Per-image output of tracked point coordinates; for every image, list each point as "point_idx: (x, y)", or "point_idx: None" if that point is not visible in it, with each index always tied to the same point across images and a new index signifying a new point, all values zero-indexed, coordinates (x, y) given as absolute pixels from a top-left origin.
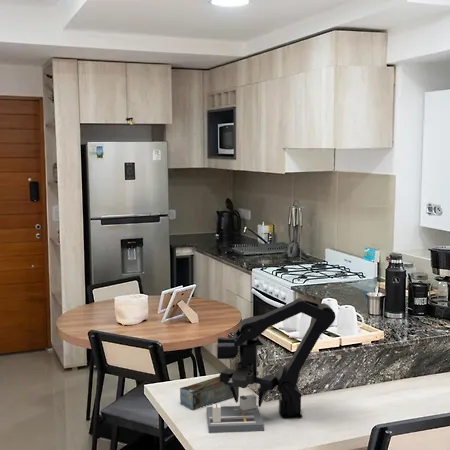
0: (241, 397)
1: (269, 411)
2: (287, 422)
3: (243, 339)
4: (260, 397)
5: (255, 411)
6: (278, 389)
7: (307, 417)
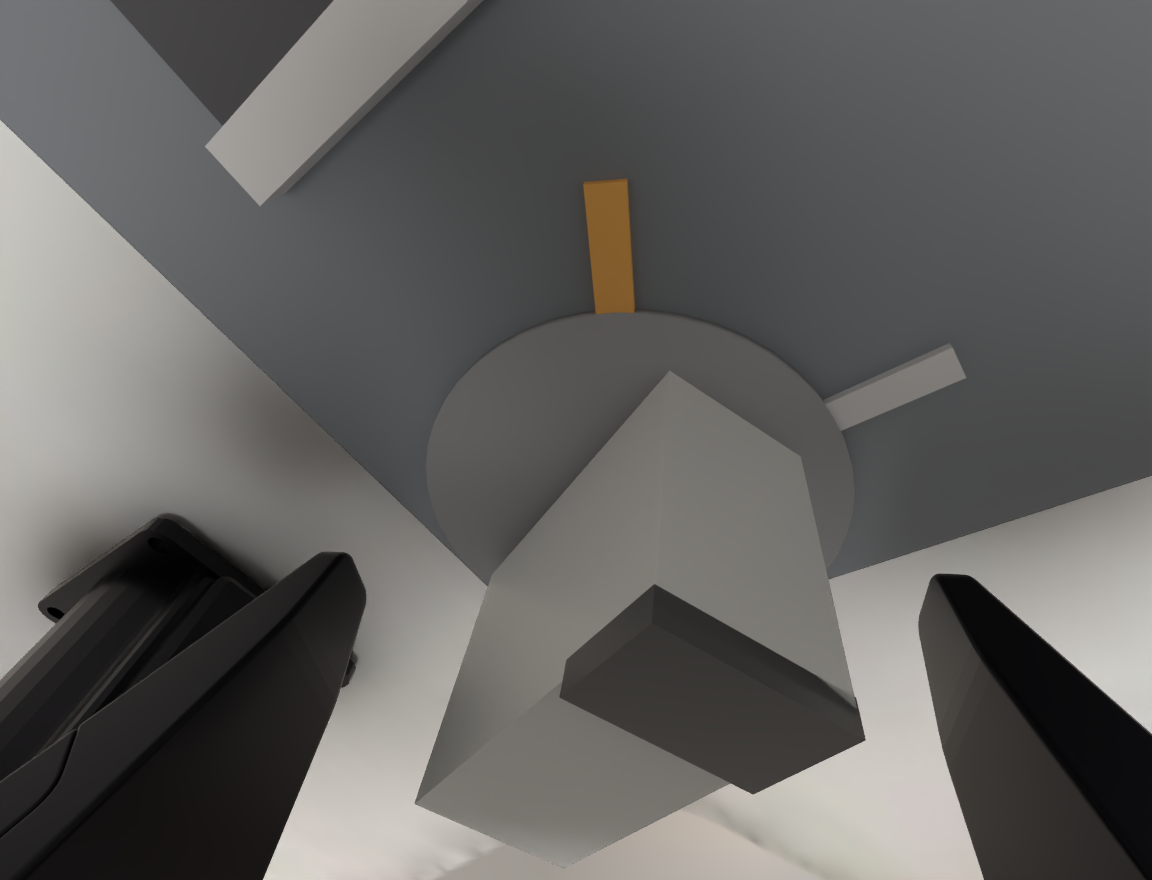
0: (755, 679)
1: (444, 622)
2: (39, 441)
3: None
4: (81, 758)
5: (433, 458)
6: None
7: (37, 617)
